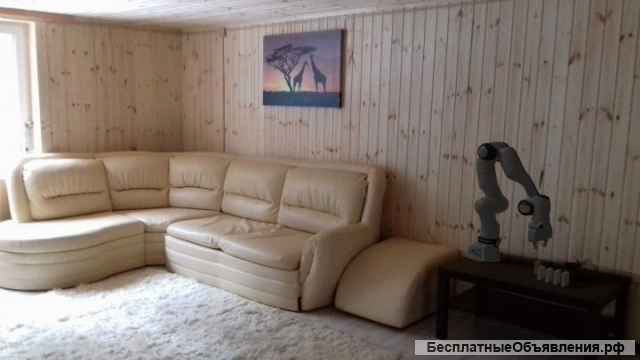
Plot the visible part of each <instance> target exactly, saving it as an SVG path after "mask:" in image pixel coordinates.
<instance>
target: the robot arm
mask: <svg viewBox="0 0 640 360" xmlns="http://www.w3.org/2000/svg"><path fill="white" fill-rule="evenodd" d="M476 153H477V156H478V158H477V159H476V163H475V165H476V167H475V168H476V176H477V181H478V182H477V183H478V187H479V189H480V190H481V191H482V192H483V193H484V195H485V196H484V197H481V198H479V199H477V200H476V201H475V203H474V205H473V206H474V207H473V208H474V211H475V212H476V213H477V215H478V217H479V220H480V235H479V236H477V237H476V239H477V240H476V241H475V242H474V243H472V244H471V245H469V246H468V248H467V252H465V253H463V257H465V258H468V259H471V260H473V261H476V262H479V263H498V262H501V261H502V259H501V256H500V255H501V253H500V244H501V237H500V232H501V224H500V223H499V222H498V220H497V215H498V214H502V213H504V212H505V211H507V210H508V209H509V206H510V203H509V199H508V198H507V197H506V196H505V195H504V194H503V192H502V190H501V188H500V186H499V181H498V178H497V172H496V163H497V162H498V163H500V165H501V168H502V171H503V173H504V175H505V177H506V178H507V179H508V180H510V181H512V182H516V183H517V184H519V185H521V186H522V187H523V188H524V189H523V190H524V191H525V193H526V195H527V196H528V197H527V198H524V199H521V200H520V201H519V202H518V204H517V210H518V213H519V215H521V216H527V217H528V216H530V217H531V216H532V220H531V222H529V223H528V225H527V228H528V230H527V240H528V242H529V243H532V247H533V250H534V251H535V250H536V251H537V250H538V249H539V248H538V245H537V244H538V243H539V242H542V241H543V243H542V248H546V247H547V245H548V242H549V239H552V238H553V226H552V223H551V216H550V215H551V214H550V213H551V211H552V209H551V206H552V204H551V199H550V197H549V196H548V195H546V194H541V193H540V192H539V191H538V189H537V187H536V185H535V182H534V181H533V179H532V177H531V176H530V174H529V173H528V172H527V170H526V169H525V167H524V165H523V163H522V160H521V158H520V156H519V154H518V152H517V150H516V148H514V147H513V146H510V145H509V144H508V143H507V142H504V141H492V142H484V143H481V144H480V145H479V146H478V148H477V151H476Z"/></svg>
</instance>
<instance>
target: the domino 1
mask: <svg viewBox="0 0 640 360" xmlns="http://www.w3.org/2000/svg"><path fill="white" fill-rule="evenodd" d="M542 263H543V261H542V260H536V261H534V266H533V267H534V269H533V274H534V275H537V273H538V267H540V266H543V265H542Z"/></svg>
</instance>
